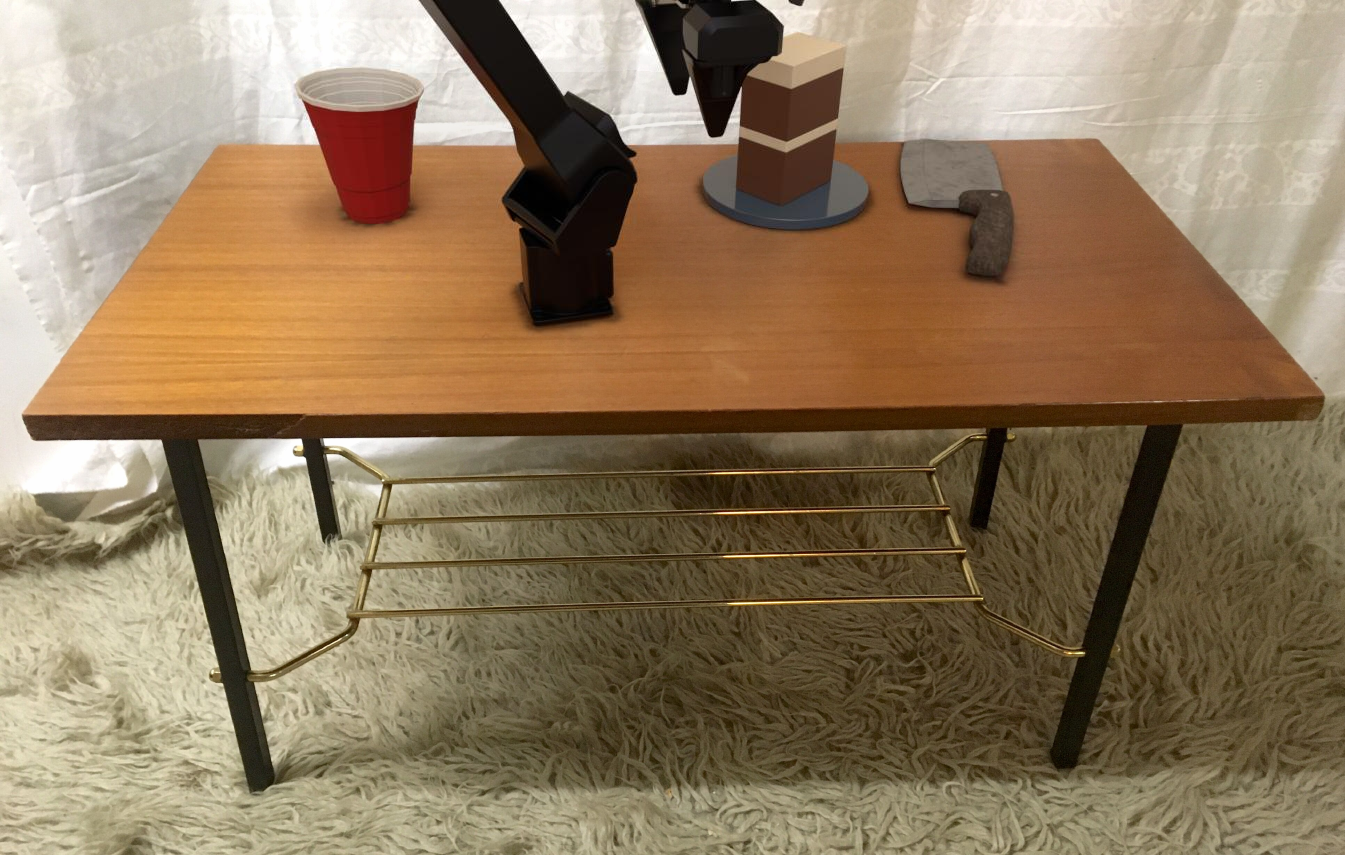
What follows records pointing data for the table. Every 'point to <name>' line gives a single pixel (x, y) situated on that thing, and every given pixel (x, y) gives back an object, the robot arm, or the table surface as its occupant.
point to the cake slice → (790, 119)
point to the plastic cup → (365, 136)
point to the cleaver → (963, 194)
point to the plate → (804, 212)
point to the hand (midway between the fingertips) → (696, 114)
